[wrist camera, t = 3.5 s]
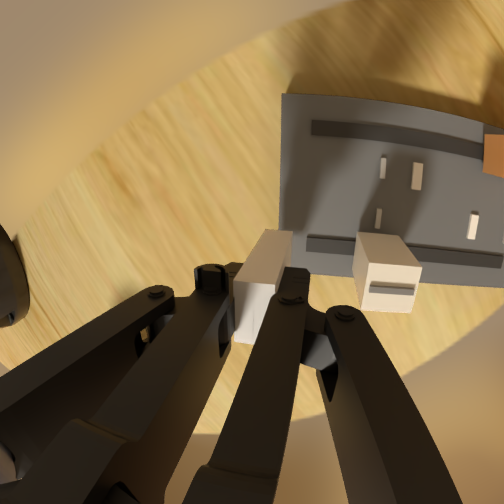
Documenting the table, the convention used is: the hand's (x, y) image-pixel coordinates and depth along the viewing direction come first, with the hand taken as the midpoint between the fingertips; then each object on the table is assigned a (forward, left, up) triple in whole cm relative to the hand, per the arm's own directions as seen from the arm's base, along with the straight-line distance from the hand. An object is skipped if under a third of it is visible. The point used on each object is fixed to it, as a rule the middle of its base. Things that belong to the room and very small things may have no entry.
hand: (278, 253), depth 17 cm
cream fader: (+6, 0, -1) cm, 6 cm away
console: (+9, +4, -4) cm, 10 cm away
